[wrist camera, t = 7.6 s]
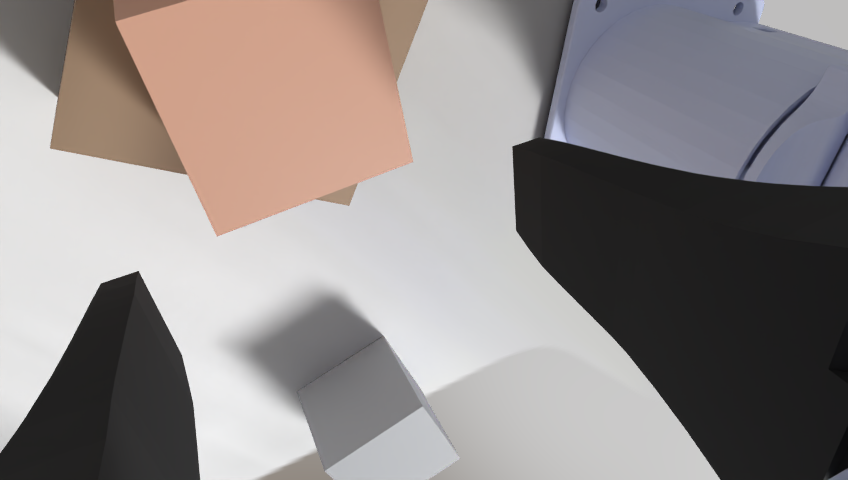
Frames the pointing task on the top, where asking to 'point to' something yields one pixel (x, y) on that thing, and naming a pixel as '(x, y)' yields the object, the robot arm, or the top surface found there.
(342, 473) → the grey cube
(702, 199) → the robot arm
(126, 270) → the top surface
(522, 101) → the top surface
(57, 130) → the walnut block
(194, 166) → the terracotta cube
